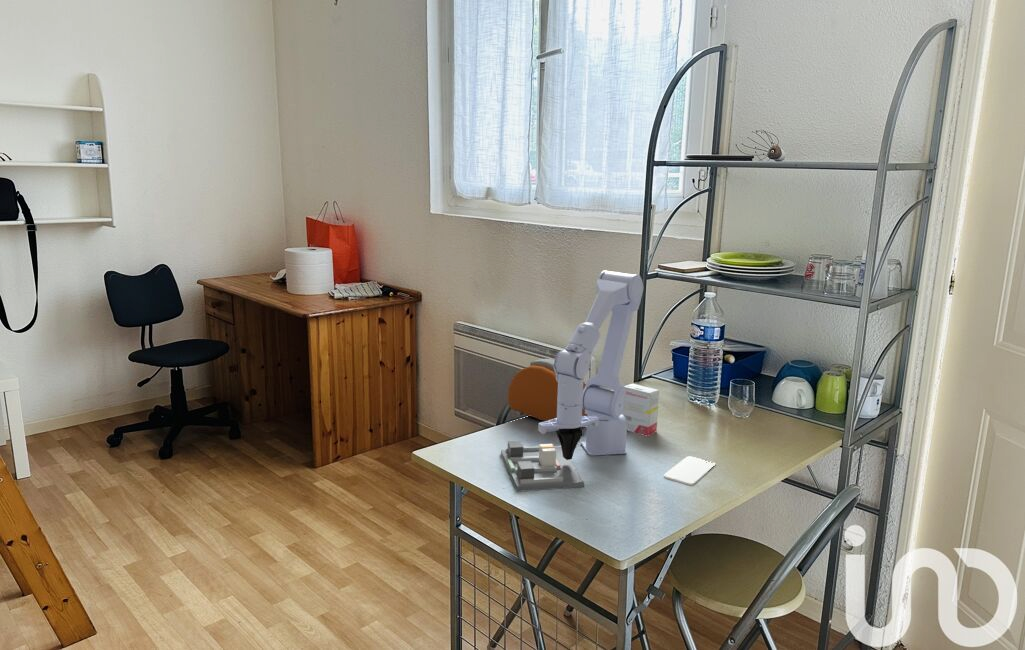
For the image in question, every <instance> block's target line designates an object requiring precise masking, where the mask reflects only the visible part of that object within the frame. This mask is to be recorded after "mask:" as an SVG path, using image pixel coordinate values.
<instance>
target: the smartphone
mask: <svg viewBox="0 0 1025 650" xmlns="http://www.w3.org/2000/svg"><path fill="white" fill-rule="evenodd" d="M702 459H703V458H698V457H695V456H691V455H687V456H686V457H685V458H683V459H682V460H680V461H679V462H678V463H676V465H674V466H673V467H672V468H670V469H669V470H668V471H666V472H665V473H663V478H664V479H666V480H670V481H673V482H677V483H680V484H684V485H687V486H694V485H695V484H696V483H697V482H699V481H700V480H701V479H702V478H703V477H704V476H705V475H707V474H708V473H709V472H710V471H711V470H712V469H713V468H714V467H715V466H716V465H717V464H716V462H714V461H710V462H708V461H709V460H707V461H705V460H706V459H703V460H702ZM706 462H707V463H706ZM711 462H713V463H711ZM715 464H716V465H715ZM713 466H714V467H713ZM712 467H713V468H712ZM711 468H712V469H711ZM710 469H711V470H710ZM709 470H710V471H709ZM708 471H709V472H708ZM698 480H699V481H698Z"/></svg>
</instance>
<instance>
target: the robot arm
mask: <svg viewBox="0 0 1025 650" xmlns="http://www.w3.org/2000/svg"><path fill="white" fill-rule="evenodd" d="M596 280H597V281H596V283H595V291H596V297H595V299H594V300H593V303H592V306H591V308H590V311H589V312H588V315H587V317H586V319H585V322H582V323H579V324H578V325H577V327H576V329H575V330H574V333H572V336H571V337H570V340H569V341H568V343H567V344H566V347H565V349H562V350H561V351H559V352H557V354H556V355H555V357H554V360H555V361H554V364H553V368H554V371H555V373H556V381H557V382H558V397H557V418H555V419H552V420H549V421H541V422H538V424H537V425H538V432H539V433H540V434H546V433H548V432H549V433H550V432H554V433H555V434H556V436H557V439H558V442H559V444H560V447H561V448H562V453H563V457H564V458H565V459H566V460H570V461H571V460H573V457H574V452H575V450H576V448H577V445H578V444H579V442H580V440H581V439H582V437H583V435H584V431H583V430H582V428H584V427H585V428H586V437H585V438H586V439H585V441H584V440H583V441H581V442H580V445H582V447H583V449H584V451H585V452H586V453H587V454H588V455H589V456H607V455H621V454H622V455H625V454H627V450H626V448H627V447H626V446H627V434H628V433H627V432H628V431H627V424H626V419H625V417H624V415H623V414H622V413H623V411H624V408H625V403H626V401H625V396H626V388H625V386H626V385H624V384H623V383H622V382H621V380H620V379H619V375H620V372H621V368H622V363H623V360H624V354H625V351H626V346H627V343H628V338H629V333H630V329H631V325H632V320H633V318H634V313H635V312H636V311H639V308H640V305H641V303H642V302H641V300H642V297H643V292H644V284H643V279H642V277H641V275H639V274H636V273H635V274H632V273H626V272H625V273H624V272H619V271H610V270H608V269H607V270H606V269H605V270H602V271H601V272H600V274H598V277H597V279H596ZM610 313H611V317H610V320H609V324H608V328H607V332H606V337H605V341H604V346H603V349H602V354H601V358H600V362H599V366H598V370H597V371H598V372H597V373H596V374H595V375H592V377H590V378H587V380H586V383H585V385H586V386H585V388H584V390H583V381H584V378H585V377H586V376H587V375H588V373H589V371H590V366H591V365H590V364H591V360H592V353H593V352H594V349H595V348H596V346H597V344H598V342H599V340H600V338H601V333H600V328H601V327H602V325H603V323H604V322H605V320H606V319H607V317H608V316H609V314H610ZM584 382H585V381H584ZM602 387H604V388H602ZM606 388H608V389H606ZM610 389H611V390H610ZM582 408H583V409H584V410H585V414H587V416H582Z"/></svg>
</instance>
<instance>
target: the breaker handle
mask: <svg viewBox="0 0 1025 650" xmlns="http://www.w3.org/2000/svg"><path fill="white" fill-rule="evenodd" d="M538 446H539V462H540V464H541V465H542V466H556V449H555V448H554V447H555V446H554V444H553V443H543V444H542V443H540V444H539V445H538Z"/></svg>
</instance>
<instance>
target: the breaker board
mask: <svg viewBox="0 0 1025 650" xmlns="http://www.w3.org/2000/svg"><path fill="white" fill-rule="evenodd" d="M554 448H555V449H556V466H542V465H541V464H540V462H539V445H536V446H523V443H522V441H521V440H507V447H505V449H501V450H500V455H501V458H502V460H503V463H504V465H505V468H506V470H507V471H508V474H509V476H510V480H511V481H512V483H513V485H514V488H515V490H516V492H528V491H540V490H556V489H557V490H559V489H572V488H573V489H574V488H584V486H585V481H584V479H583V478H582V476H581V475H580V473H579V471H577V468H576V467H575V466H574V464H573V462H572V461H571V459H570V460H566V459H565V458H564V457H563V453H562V448H561V446H554Z"/></svg>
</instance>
